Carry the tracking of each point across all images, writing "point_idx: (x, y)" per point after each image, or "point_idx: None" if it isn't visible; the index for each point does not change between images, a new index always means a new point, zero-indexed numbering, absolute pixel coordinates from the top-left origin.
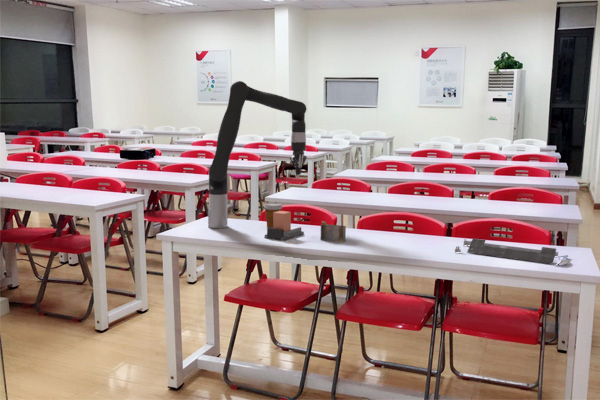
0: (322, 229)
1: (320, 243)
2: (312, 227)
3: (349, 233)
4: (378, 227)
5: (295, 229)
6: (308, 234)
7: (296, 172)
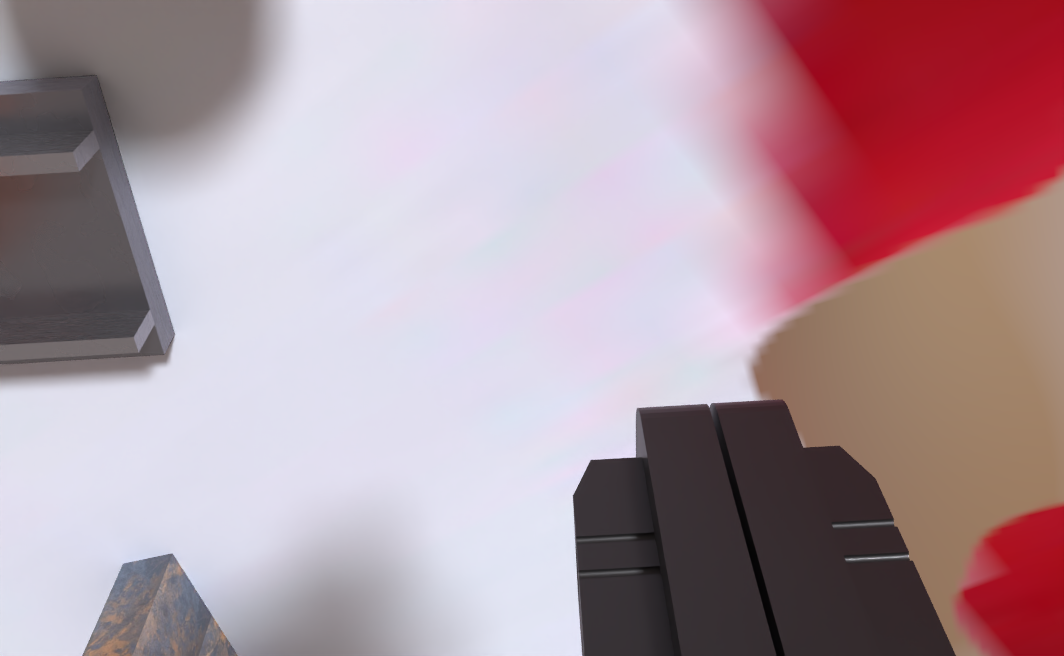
0: (126, 640)
1: (25, 620)
2: (599, 176)
3: (568, 596)
4: (1000, 642)
5: (4, 356)
6: (224, 363)
7: (587, 539)
